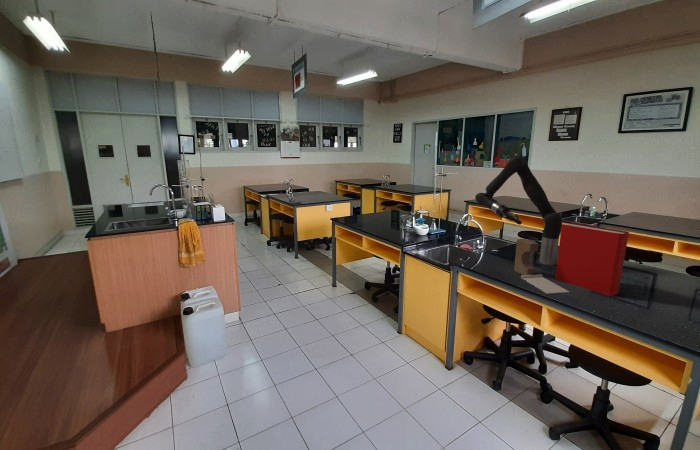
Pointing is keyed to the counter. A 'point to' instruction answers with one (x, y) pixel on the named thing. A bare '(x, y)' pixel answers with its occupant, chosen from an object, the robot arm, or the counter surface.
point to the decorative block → (524, 256)
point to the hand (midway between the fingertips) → (520, 223)
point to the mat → (543, 284)
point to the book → (591, 257)
